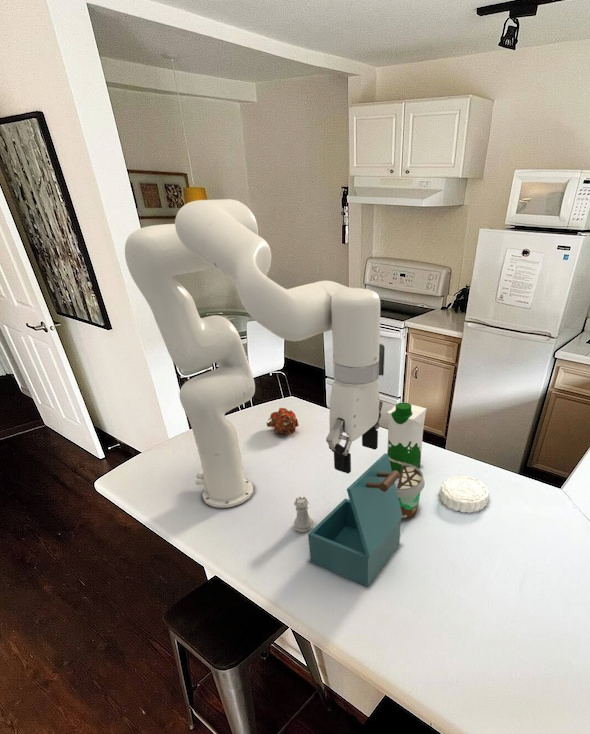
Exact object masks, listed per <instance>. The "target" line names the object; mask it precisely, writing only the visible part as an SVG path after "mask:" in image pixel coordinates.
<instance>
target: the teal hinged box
mask: <svg viewBox="0 0 590 734" xmlns="http://www.w3.org/2000/svg"><path fill="white" fill-rule="evenodd" d="M401 524H402V520H401V519H400V521H399V522H398V523H397V524H396V526H395V527H394V528H393V529H392V531H391V532H390V533H389V534H388V535H387V537H386V538H385V539H384V540H383V542H382V543H381V544H380V545H379V546H378V548H377V549H376V550H375V551H374V553H373V554H372V555H371V556H370V557H366V554H365V550H364V547H363V544H362V540H361V537H360V533H359V530H358V526H357V523H356V520H355V516H354V513H353V509H352V506H351V502H350V499H348V498H344V499H343V500H342V501H341V502H340V503H339V504H337V505H336V507H334V509H332V510H331V511H330V512H329V513H328V514H327V515H326V516H325V517H324V518H323V519H322V520H321V521H320V522H318V524H317V525H315V527H313V528H312V529H311V530H310V531H309V533H308V534H307V539H308V548H309V559H310V563H313V564H315V565H318V566H320V567H322V568H324V569H326V570H329V571H331V572H333V573H336V574H337V575H340V576H342V577H344V578H347V579H348V580H351V581H353V582H356V583H358V584H360V585H362V586H365V587H367V588H368V587H369V586H370V585H371V583H372V582H373V581H374V580H375V578H376V577H377V575H378V574H380V572H381V571H382V569H383V568H384V567H385V565H386V564H387V562H388V561H389V560H390V558H391V557H392V556H393V554H395V552H396V551H397V549H398V548H399V547H400V540H401Z"/></svg>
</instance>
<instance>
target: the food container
mask: <svg viewBox="0 0 590 734" xmlns="http://www.w3.org/2000/svg"><path fill="white" fill-rule="evenodd" d="M397 481H398V482H397V484H396V485H397V486H396V490H397V495H398V499H399V503H400V507H401V512H402V516H403V517H402V518H401V521H407V520H411V519H412V518H414V517H415V516H416V515H417V513H418V508H419V503H420V497H421V492H422V491H423V490H424V488H425V484H426V483H425V477H424V475H423V472H422V471H421V470H420V468H417V467H415V466H413V465H411V464H407V463H402V470H401V474H400V477H399V478H398V480H397Z"/></svg>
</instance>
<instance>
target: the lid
mask: <svg viewBox="0 0 590 734" xmlns="http://www.w3.org/2000/svg"><path fill="white" fill-rule="evenodd" d="M399 477H400V473H399V472H398V471H396V470H393V471H392V469H391V465H390V461H389V456H388V454H387V453H383V454H382V455H381V456H380V457H379V458H378V459H377V460H376V461H375V462H374V463H373V464H371V465H370V467H368V468H367V469H366V470H365V471H364V472H363V473H362V474H361V475H360V476H359V477H357V479H356V480H355V481H354V482H352V484H350V485H349V486H348V487H347V488H346V492H347V495H348V498H349V499H348V500H350V502H351V506H352V509H353V513H354V516H355V520H356V523H357V526H358V530H359V533H360V537H361V540H362V544H363V547H364V550H365V554H366V557H370V556H371V555H372V554H373V553H374V551H375V550H376V549H377V548H378V546H379V545H380V544H381V543H382V542H383V540H384V539H385V538H386V537H387V535H388V534H389V533H390V532H391V531H392V529H393V528H394V527H395V526H396V524H397V523H398V522H399V521H400V519H401V518H402V517H403V516H402V512H401V507H400V503H399V499H398V495H397V490H396V488H397V486H396V482H397V481H399Z"/></svg>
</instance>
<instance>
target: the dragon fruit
mask: <svg viewBox="0 0 590 734" xmlns="http://www.w3.org/2000/svg"><path fill="white" fill-rule="evenodd" d="M267 421H268V422H266V427H268V428H274V429H273V430H274V433H276V434H282V435H286V436H287V435H291V434H294V433H295V432H296V428H298V427H299V426H300V425H299V420H298V418H297V416H296V414H295V412H294V411H293V410H288V409H287V408H285V407H279V408H278V411H273V412H271V414H270V416H269V418H268V420H267Z"/></svg>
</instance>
